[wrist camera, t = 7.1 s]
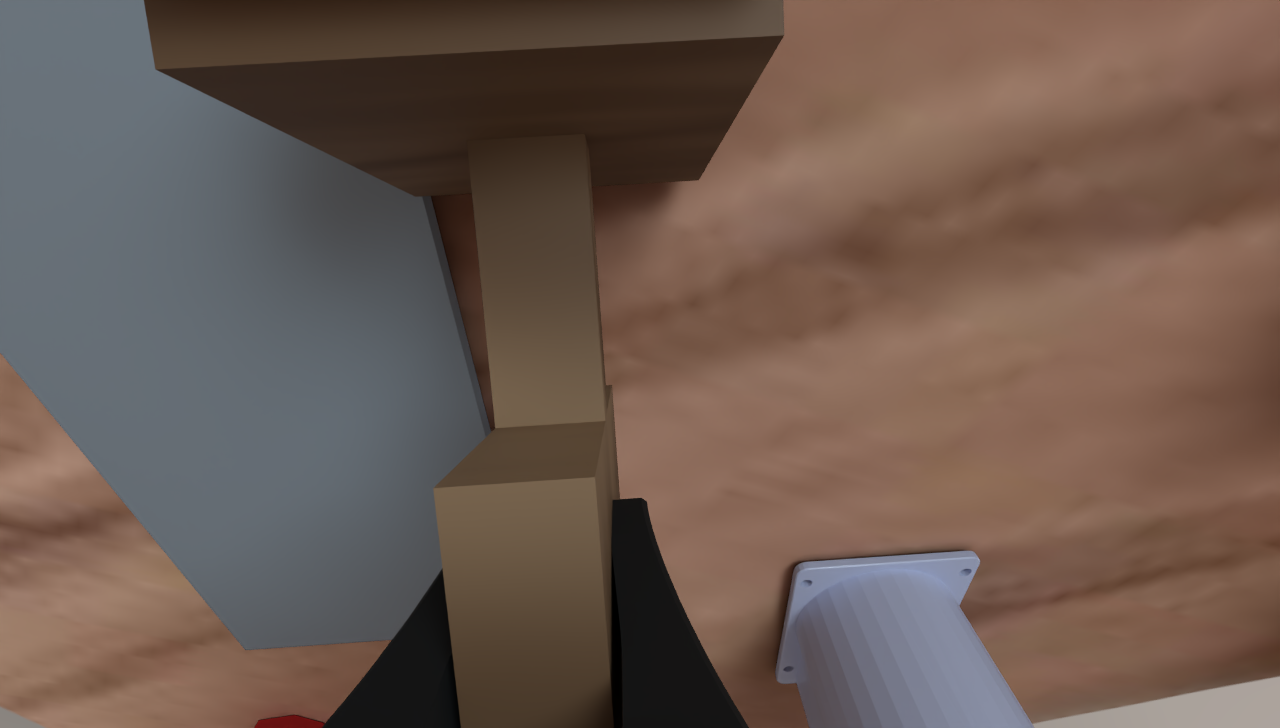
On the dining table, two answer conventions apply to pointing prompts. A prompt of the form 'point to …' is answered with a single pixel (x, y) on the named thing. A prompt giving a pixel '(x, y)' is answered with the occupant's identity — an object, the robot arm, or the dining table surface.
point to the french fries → (289, 722)
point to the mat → (229, 330)
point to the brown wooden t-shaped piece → (506, 260)
